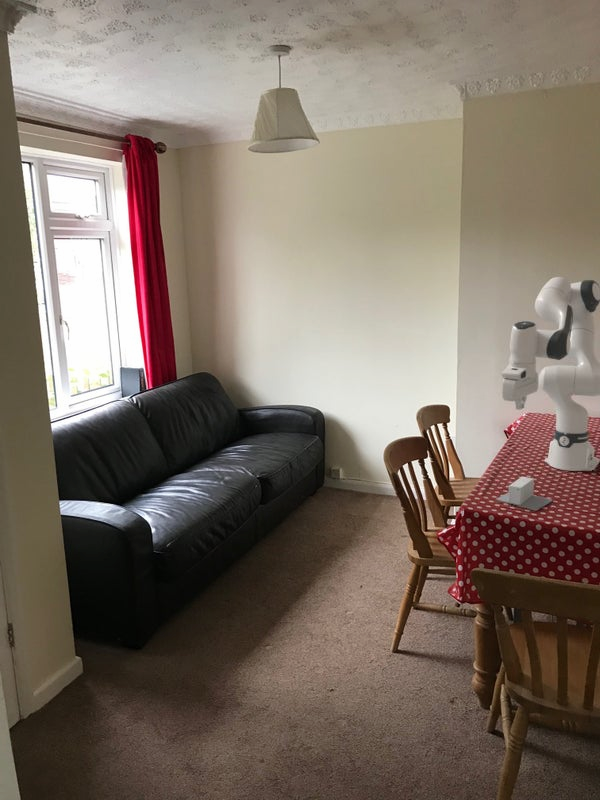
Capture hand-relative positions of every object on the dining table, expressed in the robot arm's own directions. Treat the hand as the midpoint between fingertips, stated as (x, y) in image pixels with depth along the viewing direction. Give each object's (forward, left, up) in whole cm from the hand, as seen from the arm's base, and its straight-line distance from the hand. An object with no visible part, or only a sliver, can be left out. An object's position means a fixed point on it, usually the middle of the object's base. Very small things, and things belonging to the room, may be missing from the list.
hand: (519, 408), depth 231 cm
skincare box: (+8, +8, -24) cm, 27 cm away
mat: (+14, +10, -28) cm, 32 cm away
